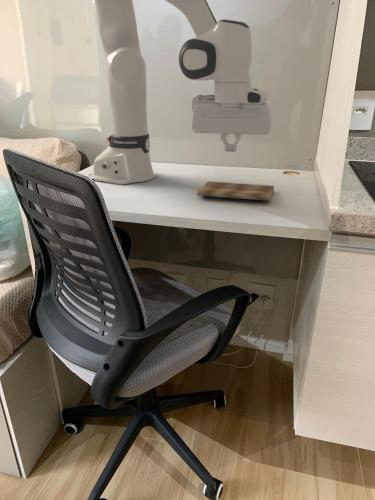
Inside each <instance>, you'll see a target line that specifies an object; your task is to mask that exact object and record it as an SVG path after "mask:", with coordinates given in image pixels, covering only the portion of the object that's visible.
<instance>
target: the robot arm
mask: <svg viewBox="0 0 375 500" xmlns="http://www.w3.org/2000/svg"><path fill="white" fill-rule="evenodd" d="M91 1H92V4H93V10H94V14H95V17H96V23H97V27H98V32H99V36H100V39H101V40H100V41H101V44H102V49H103V53H104V58H105V63H106V68H107V77H108V78H107V80H108V88H109V100H110V101H109V102H110V110H111V123H112V134H111V135H110V136H108V137H107V138H106V143H107V142H108V143H109V144H108V147H106V148H105V149H104V150H103V151H102V152H101V153H99V155H97V156H96V158H94V161H93V171H91V172H89V173H87V176H88V177H90V178H92V179H94V180H95V182H101V181H103V182H104V183H107V184H108V183H111V184H117V185H127V184H132V183H133V184H134V183H140V182H146V181H151V180H152V179H154V178H155V177H156V175H155V173H154V169H153V165H152V162H151V156H150V151H151V141H150V134H149V131H148V114H147V113H148V112H147V111H148V110H147V109H148V108H147V65H146V61H145V59H144V57H143V56H142V53H141V47H140V46H141V45H140V40H139V34H138V33H139V32H138V27H137V26H138V25H137V19H136V13H135V8H134V7H135V6H134V3H133V0H91ZM164 1H165V2H167V3H169V4H170V5H172V6H174V7H175V8H176V9H177V10H179V12H181V14H183V15H184V17H186V19H187V21H188V23H189V25H190V27H191V28H192V30H193V33H194V35H195V37H194V38H193V37H192V38H191V39H188V40H185V42H184V43H183V44H182V46H181V48H180V50H179V53H178V64H179V69H180V70H181V73H182V74H183V75H184V76H185V77H186V78H188V79H189V80H193V81H210V80H211V81H213V83H214V85H213V87H214V91H213V92H214V94H206V95H205V94H198V95H197V96H196V97H193V99H192V101H191V110H192V113H193V114H192V123H191V127H192V128H191V129H192V131H193V133H195V134H216V135H217V134H219V135H220V140H221V141H222V143H223V145H224V152H233V153H234V152H235V153H236V152H237V151H238V150H237V148H238V143H239V142H240V140H241V139H242V135H260V136H263V135H269V134H270V133H271V131H272V127H273V126H272V124H273V123H272V110H271V107H270V104H269V103H268V100H269V94H268V92H266V91H263V90H260V89H258V88H255V87H252V86H251V83H252V82H251V75H250V67H251V66H252V65H251V64H252V59H253V58H252V56H253V55H252V52H253V51H252V49H253V48H252V47H253V45H252V44H253V43H252V32H251V29H250V26H249V25H248V24H247V23H246V22H243V21H237V20H230V19H220V20H218V21H217V19H216V18H215V16H214V13H213V11H212V10H211V7H210V6H209V4H208V2H207V0H164ZM228 135H234V139H236V140H235V141H234V143H229V142H228V139H227V137H228ZM94 180H93V181H94Z"/></svg>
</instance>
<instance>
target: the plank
mask: <svg viewBox="0 0 375 500" xmlns="http://www.w3.org/2000/svg"><path fill="white" fill-rule="evenodd" d="M196 196H203V197H204V196H205V197H217V198H231V199H245V200H246V199H247V200H256V201H271V200H272V198H273V195H272V192H265V191H251V190H237V189H222V188H208V187H204V186H203V187H200V188H198V189H197V192H196Z"/></svg>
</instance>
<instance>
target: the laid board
mask: <svg viewBox="0 0 375 500" xmlns="http://www.w3.org/2000/svg"><path fill="white" fill-rule="evenodd" d="M203 187H208V188H222V189H237V190H251V191H265V192H272V196H273V195H274V191H275V189H274V188H275V185H267V184H266V185H264V184H250V183H249V184H248V183H236V182H235V183H234V182H233V183H232V182H219V181H207V182H206V183H205V184H204V186H203Z"/></svg>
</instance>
